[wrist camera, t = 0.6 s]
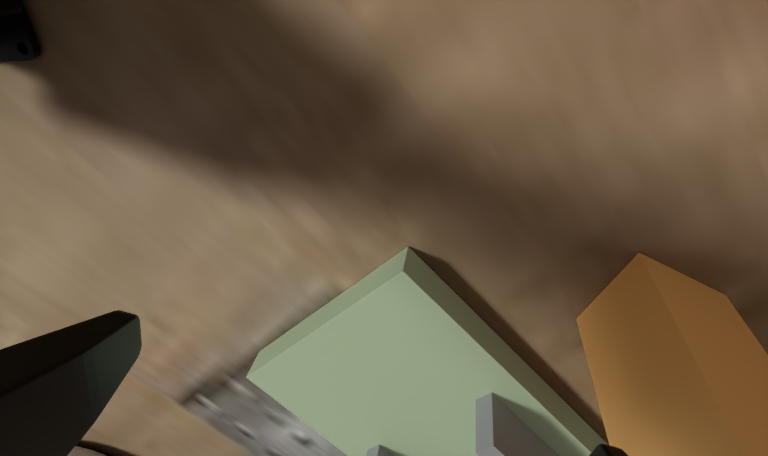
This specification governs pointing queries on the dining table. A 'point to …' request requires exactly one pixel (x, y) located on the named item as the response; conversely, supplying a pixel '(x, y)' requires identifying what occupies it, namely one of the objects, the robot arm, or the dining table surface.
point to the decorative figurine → (84, 452)
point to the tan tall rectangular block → (674, 366)
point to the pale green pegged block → (415, 375)
